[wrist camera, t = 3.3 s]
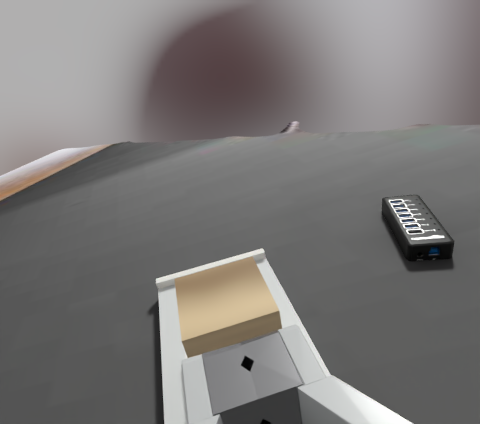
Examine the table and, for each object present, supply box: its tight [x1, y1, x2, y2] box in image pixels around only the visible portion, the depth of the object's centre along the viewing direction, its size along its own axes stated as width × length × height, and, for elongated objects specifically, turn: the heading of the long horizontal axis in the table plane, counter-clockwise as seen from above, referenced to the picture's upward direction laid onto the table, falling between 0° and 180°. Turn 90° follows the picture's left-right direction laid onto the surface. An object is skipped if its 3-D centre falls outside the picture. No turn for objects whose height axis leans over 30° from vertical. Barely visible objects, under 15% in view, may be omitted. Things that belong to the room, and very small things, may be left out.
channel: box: [156, 248, 331, 424], centre depth 26 cm, size 28×12×2 cm, turn 14°
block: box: [174, 256, 282, 358], centre depth 21 cm, size 5×5×10 cm
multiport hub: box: [382, 195, 454, 261], centre depth 40 cm, size 4×11×2 cm, turn 174°
